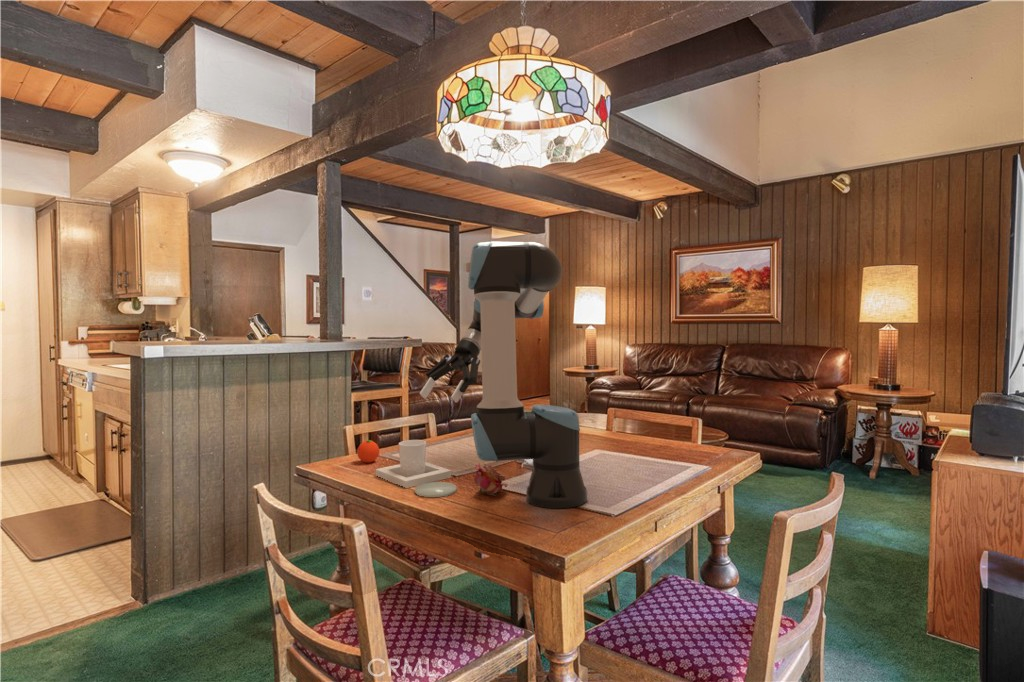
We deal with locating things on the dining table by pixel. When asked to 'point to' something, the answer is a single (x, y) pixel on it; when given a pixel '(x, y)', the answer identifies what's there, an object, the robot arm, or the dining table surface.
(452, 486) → the coaster
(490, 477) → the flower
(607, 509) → the dining table surface
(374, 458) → the clementine
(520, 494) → the dining table surface
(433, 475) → the board
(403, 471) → the white cup
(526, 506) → the dining table surface
